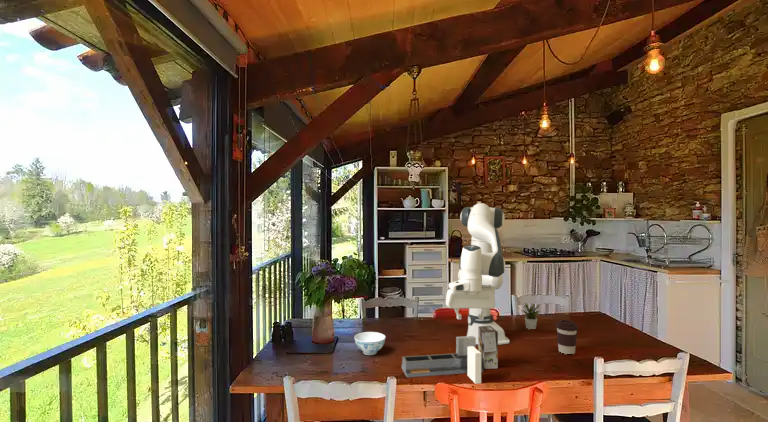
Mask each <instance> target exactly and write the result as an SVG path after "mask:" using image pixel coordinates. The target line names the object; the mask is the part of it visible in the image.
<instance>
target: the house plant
mask: <svg viewBox="0 0 768 422" xmlns="http://www.w3.org/2000/svg"><path fill="white" fill-rule="evenodd" d="M534 304H535V303H533V302H530V305H531V306H530V307H529V304H528V303H527V302H526V301H525V302H524V304H523V305H521V306H522V307H521V308H523V309H522V310H521V312H522V313H524V323H525V328H526V329H527V328H528V329H527V330H530V329H535V330H536V329H537V322H538V317H540V312H541V311H540V310H538V308H539V307H540V306H541V305H542V304H541V303H540V304H537V306H536V307H535V308H534ZM537 316H538V317H537Z"/></svg>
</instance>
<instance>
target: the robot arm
mask: <svg viewBox="0 0 768 422" xmlns="http://www.w3.org/2000/svg"><path fill="white" fill-rule="evenodd" d="M459 218H460V222H461V224H462V226H464V227H466V228H467V232H468V233H469V234H470V236H471V237H470V238H471V240H470V244H468V245H465V246H464V245H463V247H462V251H461V255H460V257H459V264H458V265H459V270H458V273H457V279H458V280H455V281H452V282H448V288H449V289H448V290H447V292H446V295H445V306H446V307H447V308H448V309H453V310H454V313H455V314H456V319H457V320H462V314H461V313H459V311H460V309H468V313H467V324H468V325H467V326H468V327H467V332H466V336H474V337H476V345H478V326H491V327H492V328H494V329H495V330H496V331H497V332H498V346H500V345H506V344H510V339H509V338H508V337H507V336H506V333H505V331H504V329H503V328H502V327H501V326H500V325H499V324H498V323H496V321H497V319H498V317H497V316H496V315H493V314H491V309H494V308H495V306H496V298H495V294H496V290H499V289H500V288H501V287H502V285H503V283H504V277H503V274H504V273H505V270H506V261H505V257H504V254H503V249H502V243H501V239H500V235H499V234H500V233H499V231H498V229H500V228H501V227H502V226H503V224H504V223H505V213H504V210H503V209H502V208H498V207H490V206H489V205H487V204H486V203H483V202H478V203H476V204H474V205H473V206H467V207H464V208H463V209H462V210H461V212H460V215H459Z"/></svg>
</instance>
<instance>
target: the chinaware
mask: <svg viewBox="0 0 768 422" xmlns="http://www.w3.org/2000/svg"><path fill="white" fill-rule="evenodd" d="M385 341H386V335H385V334H383V333H381V332H378V331H365V332H359V333H357V334H355V335H354V342H355V345H356V346H357V348H358V349H359V350H360V351H361V352H362V354H363V355H366V356H374V355H376V354H377V353H378V351H379V350H381V349H382V348H383V346H384V344H385V343H386V342H385Z"/></svg>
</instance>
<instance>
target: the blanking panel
mask: <svg viewBox="0 0 768 422" xmlns="http://www.w3.org/2000/svg"><path fill="white" fill-rule="evenodd" d="M466 374H467V375H466V376H467V377H468V378H469V379H470V380H471V381H472V382H473V383H474V384H476V385H477V384H478V385H479V384H482V372H481V352H479V351H478V348H475V347H474V346H468V347H467V373H466Z"/></svg>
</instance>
